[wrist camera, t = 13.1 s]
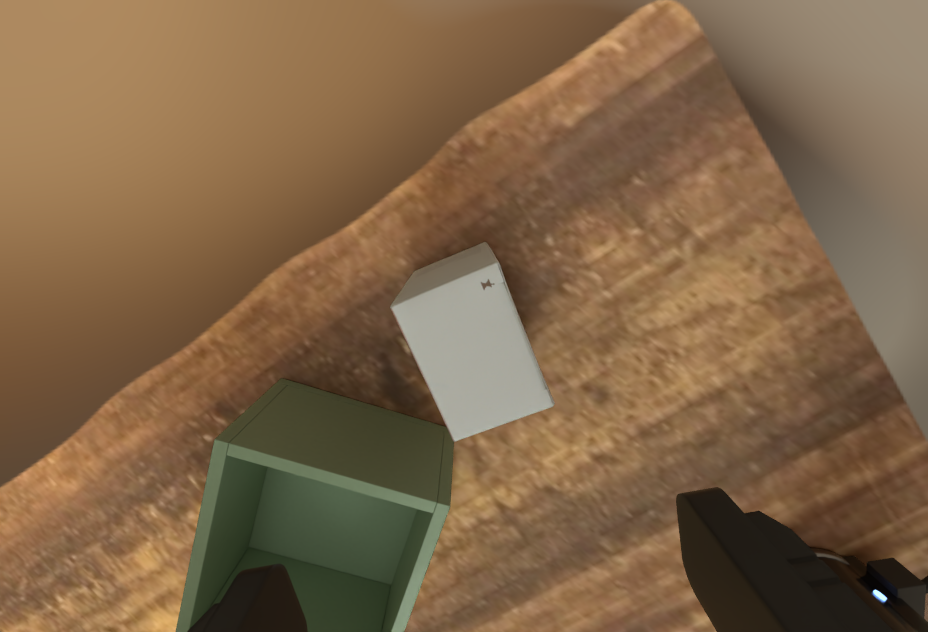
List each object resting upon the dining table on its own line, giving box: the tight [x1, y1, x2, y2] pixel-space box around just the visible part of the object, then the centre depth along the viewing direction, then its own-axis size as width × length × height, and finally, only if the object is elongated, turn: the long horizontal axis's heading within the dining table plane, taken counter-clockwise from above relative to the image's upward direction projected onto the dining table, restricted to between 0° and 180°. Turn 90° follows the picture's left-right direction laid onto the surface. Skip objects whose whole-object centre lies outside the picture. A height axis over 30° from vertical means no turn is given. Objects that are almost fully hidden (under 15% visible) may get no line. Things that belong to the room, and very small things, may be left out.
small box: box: [390, 242, 555, 441], centre depth 26 cm, size 8×6×10 cm
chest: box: [176, 378, 454, 632], centre depth 30 cm, size 16×14×9 cm
